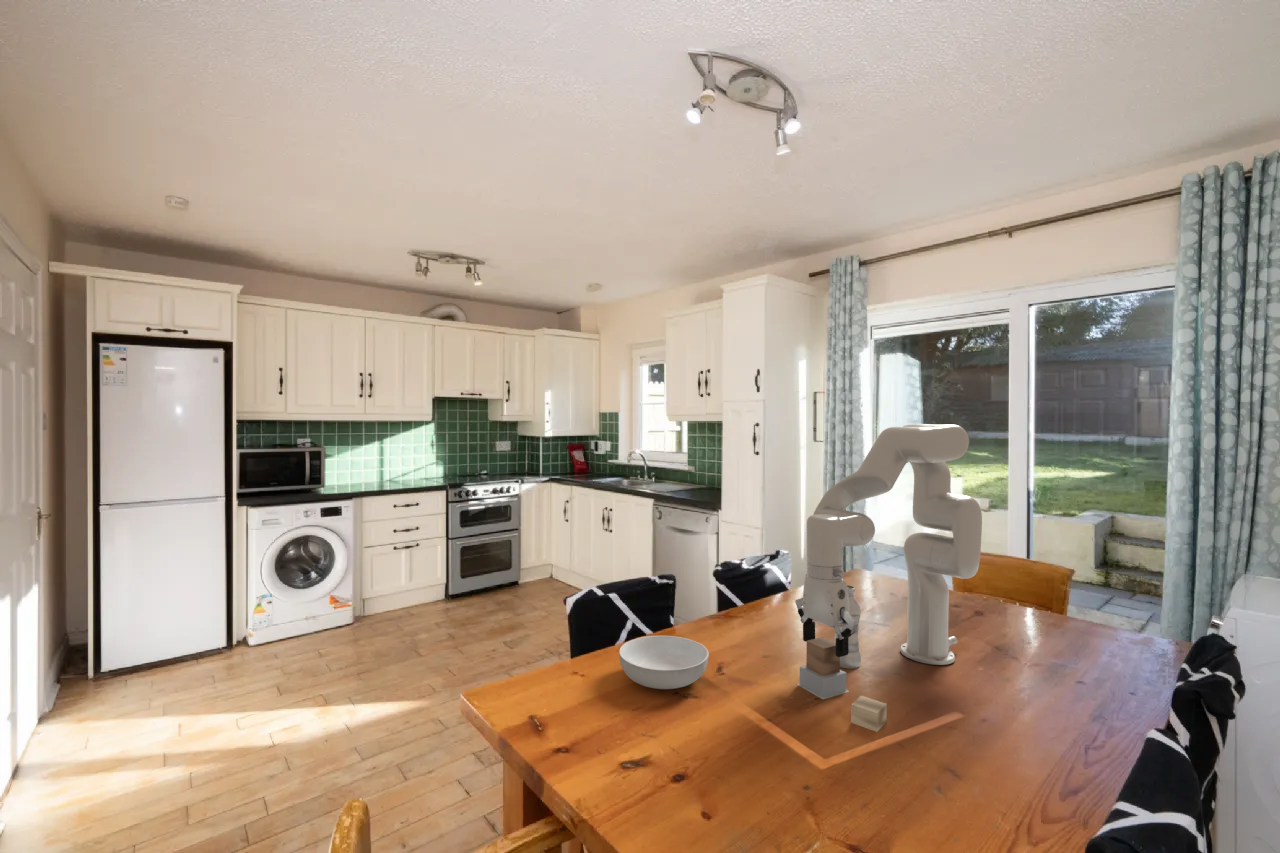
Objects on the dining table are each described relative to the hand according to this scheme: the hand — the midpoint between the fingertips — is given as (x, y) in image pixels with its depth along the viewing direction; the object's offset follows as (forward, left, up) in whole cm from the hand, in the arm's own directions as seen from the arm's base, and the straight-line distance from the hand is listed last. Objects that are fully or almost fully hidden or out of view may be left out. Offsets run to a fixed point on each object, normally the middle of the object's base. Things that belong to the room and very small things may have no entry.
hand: (825, 647), depth 128 cm
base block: (+1, 0, -9) cm, 9 cm away
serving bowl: (+29, -22, -10) cm, 38 cm away
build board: (+1, 0, -10) cm, 10 cm away
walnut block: (+1, 0, -5) cm, 5 cm away
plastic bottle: (-14, -7, -10) cm, 19 cm away
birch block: (+4, +15, -10) cm, 19 cm away
